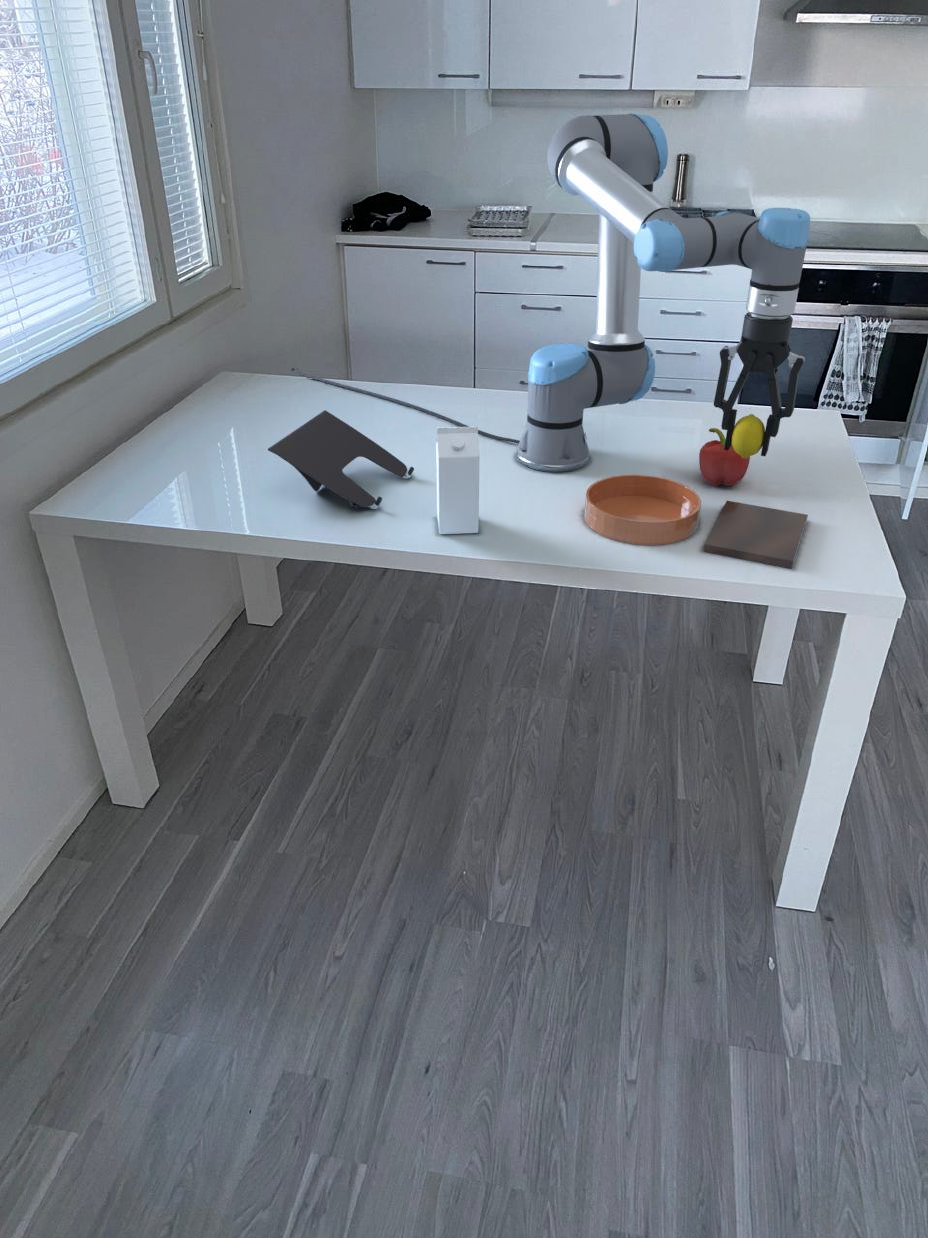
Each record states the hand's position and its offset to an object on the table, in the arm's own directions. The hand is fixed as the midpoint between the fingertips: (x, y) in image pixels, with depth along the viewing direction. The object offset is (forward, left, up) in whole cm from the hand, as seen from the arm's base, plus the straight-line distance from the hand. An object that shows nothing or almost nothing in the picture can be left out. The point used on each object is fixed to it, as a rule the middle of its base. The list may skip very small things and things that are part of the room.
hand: (745, 450), depth 162 cm
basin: (-17, -1, -16) cm, 23 cm away
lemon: (0, 0, -2) cm, 2 cm away
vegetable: (-7, +23, -16) cm, 29 cm away
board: (+4, +1, -16) cm, 17 cm away
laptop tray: (-74, -11, -16) cm, 76 cm away
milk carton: (-47, -18, -16) cm, 53 cm away
